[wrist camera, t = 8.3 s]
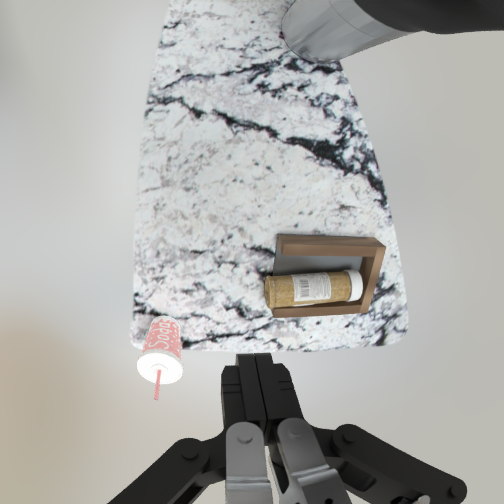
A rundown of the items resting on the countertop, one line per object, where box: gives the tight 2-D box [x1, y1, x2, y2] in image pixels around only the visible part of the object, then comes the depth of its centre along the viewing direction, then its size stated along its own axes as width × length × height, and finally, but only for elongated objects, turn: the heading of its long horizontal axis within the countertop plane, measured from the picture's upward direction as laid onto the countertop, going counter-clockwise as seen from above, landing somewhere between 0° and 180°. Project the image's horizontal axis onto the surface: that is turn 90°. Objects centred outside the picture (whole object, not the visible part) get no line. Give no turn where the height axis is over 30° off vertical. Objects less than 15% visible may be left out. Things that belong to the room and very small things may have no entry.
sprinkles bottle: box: [264, 269, 363, 309], centre depth 40 cm, size 5×5×14 cm
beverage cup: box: [137, 316, 183, 400], centre depth 36 cm, size 6×6×14 cm
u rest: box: [271, 234, 386, 318], centre depth 41 cm, size 11×15×4 cm
